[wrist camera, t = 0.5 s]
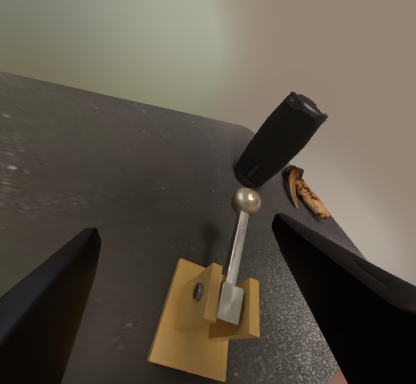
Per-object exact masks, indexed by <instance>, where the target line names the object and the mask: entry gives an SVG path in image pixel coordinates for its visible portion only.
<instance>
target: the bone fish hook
mask: <svg viewBox="0 0 416 384" xmlns="http://www.w3.org/2000/svg"><path fill="white" fill-rule="evenodd" d="M283 171H284V177H285V178H286V179H287V180H288V187H289V193H290V197H291V200H292V203H293V205H294V207H295V208H296V209H298V205H297V199H296V192H297V194H298V195H299V196H300V198H301V199H302V200H303V201H304V203H305V204H306V205H307V206H308V207H309V208H310V209H311V210H312V211H313V212H314V213H315V214H316V215H320V219H328V218H329V217H330V215H329V213H328V211H327V209H326V208H325V207H324V205H323V204H322V202H321V201H320V199H319V198H318V197H317V196H316V195H315V194H314V193H313V192H312V191H311V190H310V189H309V187H308V186H307V185H306V184H305V183H304V180H303V179H302V175H303V172H304V170H303V169H301V168H298V167H296V166H293V165H290V167H287V168H285V169H283Z"/></svg>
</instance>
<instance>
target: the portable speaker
mask: <svg viewBox="0 0 416 384" xmlns="http://www.w3.org/2000/svg"><path fill="white" fill-rule="evenodd" d="M327 117H328V116H327V114H322V113H321V112H320V110H319V109H318V108H317V106H316V104H315V103H314V102H313V101H311V100H310V99H309V98H307V97H305V96H303V95H301V94H296V93H295V92H291V93H290V95H288V96H287V97H286V98H285V100H284V101H283V102H282V103H281V104H280V105H279V106H278V107H277V108H276V109H275V110H274V111H273V113H272V114H271V115H270V116H269V117H268V118H267V119H266V121H265V122H264V123H263V125H262V126H261V128H260V129H259V130H258V132H257V133H256V134H255V136H254V137H253V139H252V140H251V141H250V143H249V144H248V145H247V147H246V149H245V150H244V152H243V154H242V155H241V157H240V159H239V160H238V162H237V164H236V166H235V167H236V172H237V174H236V178H237V180H238V181H239V182H240V183H242V184H243V185H244V186H246V187H248V188H249V187H253V186H255V187H259V186H262V185H263V184H264V183H265V182H267V181H268V180H269V179H270V178H272V177H273V176H274V175H275V174H277V173H278V172H279V171H280V170H281V169H282V168H283V167H284V166H285V165H286V164H287V163H288V162H289V161H290V160H291V159H293V157H294V156H296V155H297V154H298V152H299V151H300V150H302V149H303V148H304V146H305V145H306V144H307V143H308V141H309V140H310V139H311V137H312V136H313V135H314V133H315V132H316V131H317V129H318V128H319V127H320V125H321V124H322V123H324V122H325V120H326V118H327Z"/></svg>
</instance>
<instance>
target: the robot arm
mask: <svg viewBox="0 0 416 384" xmlns="http://www.w3.org/2000/svg"><path fill="white" fill-rule="evenodd" d="M272 230H273V233H274V235H275V238H276V241H277V243H278V246H279V248H280V251H281V253H282V255H283V257H284V259H285V261H286V263H287V265H288V267H289V269H290V271H291V273H292V275H293V277H294V279H295V281H296V283H297V285H298V287H299V289H300V291H301V293H302V295H303V297H304V298H305V300H306V302H307V304H308V306H309V308H310V310H311V312H312V314H313V316H314V318H315V320H316V322H317V324H318V326H319V328H320V330H321V332H322V334H323V336H324V338H325V340H326V342H327V343H328V346H329V348H330V350H331V352H332V354H333V356H334V357H335V359H336V361H337V363H338V365H339V367H340V369H341V371H342V373H343V375H344V377H345V379H346V381H347V383H348V384H416V286H414V285H412V284H410V283H408V282H406V281H404V280H402V279H400V278H398V277H396V276H394V275H392V274H390V273H388V272H387V271H385V270H383V269H381V268H379V267H377V266H375V265H373V264H371V263H370V262H368V261H366V260H364V259H362V258H361V257H359V256H357V255H355V254H354V253H351V252H350V251H348V250H347V249H345V248H343V247H341V246H340V245H338V244H336V243H334V242H333V241H331V240H329V239H327V238H326V237H324V236H322V235H320V234H319V233H317V232H315V231H314V230H312V229H310V228H308V227H307V226H305V225H303V224H301V223H300V222H298V221H296V220H294V219H293V218H291V217H289V216H287V215H286V214H283V213H280V214H276V215H275V217H274V220H273V222H272ZM100 248H101V239H100V236H99V233H98V230H97V229H96V228H86V229H84V230H83V231H81V232H80V233H79V234H78V235H77V236H75V237H74V238H73V239H72V240H70V241H69V242H68V243H67V244H66V245H64V246H63V247H62V248H61V249H59V250H58V251H57V252H56V253H54V254H53V255H52V256H51V257H50V258H48V259H47V260H46V261H45V262H43V263H42V264H41V265H40V266H39V267H37V268H36V269H35V270H34V271H32V272H31V273H30V274H29V275H28V276H26V277H25V278H24V279H23V280H21V281H20V282H19V283H18V284H16V285H15V286H14V287H13V288H12V289H10V290H9V291H8V292H7V293H5V294H4V295H3V296H2V297H1V298H0V384H61V382H62V378H63V375H64V372H65V369H66V366H67V363H68V360H69V357H70V353H71V350H72V347H73V344H74V341H75V338H76V335H77V331H78V328H79V325H80V322H81V319H82V316H83V313H84V309H85V306H86V303H87V300H88V297H89V294H90V291H91V288H92V284H93V281H94V278H95V274H96V269H97V263H98V258H99V253H100Z"/></svg>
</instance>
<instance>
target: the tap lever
mask: <svg viewBox="0 0 416 384" xmlns="http://www.w3.org/2000/svg"><path fill="white" fill-rule="evenodd" d="M260 205H261V200H260V197H259V195H258V193H257V192H256V191H255V190H253V189H251V188H240V189H238V190H237V191H236V192H235V193H234V194H233V196H232V198H231V206H232V208H233V210H234V211H235V212H236V213H237V217H236V222H235V226H234V230H233V235H232V239H231V243H230V248H229V252H228V257H227V261H226V265H225V270H224V274H223V278H222V281H221V283H220V291H219V299H218V307H217V315H216V318H218V319H221V320H224V321H227V322H230V323H233V324H236V325H238V324H239V318H240V312H241V306H242V300H243V294H244V289H242V288H240V287H237V286H236V281H237V275H238V270H239V265H240V259H241V254H242V249H243V244H244V238H245V233H246V228H247V222H248V217H249V216H252V215H254V214H255V213H256V212H257V211H258V210H259V208H260Z"/></svg>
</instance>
